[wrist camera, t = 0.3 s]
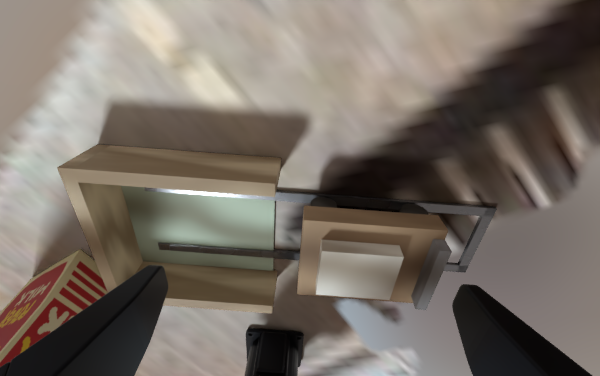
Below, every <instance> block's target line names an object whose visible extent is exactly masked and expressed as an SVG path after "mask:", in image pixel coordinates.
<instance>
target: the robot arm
mask: <svg viewBox="0 0 600 376" xmlns="http://www.w3.org/2000/svg"><path fill="white" fill-rule="evenodd" d="M167 292H168V281H167V277H166V273H165V269H164V267H163V266H161V265H148V266H146V267H145V268H143V269H142V270H140V271H139V272H137V273H136V274H134V275H133V276H132V277H130V278H129V279H127V280H126V281H124V282H123V283H121V284H120V285H119V286H117V287H116V288H114V289H113V290H111V291H110V292H108V293H107V294H105V295H104V296H103V297H101V298H100V299H98V300H97V301H95V302H94V303H92V304H91V305H90V306H88V307H87V308H85V309H84V310H82V311H81V312H79V313H78V314H77V315H75V316H74V317H72V318H71V319H69V320H68V321H66V322H65V323H64V324H62V325H61V326H59V327H58V328H56V329H55V330H53V331H52V332H51V333H49V334H48V335H46V336H45V337H43V338H42V339H40V340H39V341H38V342H36V343H35V344H33V345H32V346H30V347H29V348H27V349H26V350H25V351H23V352H22V353H20V354H19V355H17V356H16V357H14V358H13V359H12V360H11V362H7V363H6V364H4V365H3V366H1V367H0V376H134V375H135V373H136V371H137V369H138V366H139V364H140V362H141V360H142V358H143V356H144V354H145V352H146V349H147V347H148V345H149V343H150V340H151V337H152V335H153V332H154V329H155V326H156V323H157V321H158V318H159V315H160V312H161V309H162V306H163V304H164V301H165V298H166V295H167ZM452 306H453V312H454V316H455V319H456V323H457V326H458V330H459V333H460V337H461V340H462V344H463V347H464V350H465V354H466V357H467V361H468V364H469V366H470V369H471V372H472V374H473V376H592V375H591V374H590V373H588V372H587V371H586V370H584V369H583V368H582V367H581V366H579V365H578V364H577V363H575V362H574V361H573V360H572V359H570V358H569V357H568V356H567V355H565V354H564V353H563V352H562V351H560V350H559V349H558V348H556V347H555V346H554V345H553V344H551V343H550V342H549V341H547V340H546V339H545V338H544V337H542V336H541V335H540V334H539V333H537V332H536V331H535V330H534V329H532V328H531V327H530V326H528V325H527V324H526V323H525V322H523V321H522V320H521V319H519V318H518V317H517V316H515V315H514V314H513V313H512V312H510V311H509V310H508V309H507V308H505V307H504V306H503V305H501V304H500V303H499V302H498V301H496V300H495V299H494V298H493V297H491V296H490V295H489V294H488V293H486V292H485V291H484V290H482V289H481V288H480V287H478V286H477V285H467V284H463V285H461V286H460V288H459V290H458V292H457V294H456V297H455V299H454V301H453V305H452ZM246 346H247V366H246V371H245V376H297V373H298V367H299V366H300V363H301V355H302V346H303V333H300V332H289V331H275V330H262V329H247V331H246Z"/></svg>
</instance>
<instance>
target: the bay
mask: <svg viewBox="0 0 600 376" xmlns="http://www.w3.org/2000/svg"><path fill="white" fill-rule="evenodd" d="M57 169H58V171H59V173H60V176H61V178H62V181H63V183H64V186H65V188H66V191H67V193H68V196H69V198H70V201H71V203H72V205H73V208H74V210H75V213H76V215H77V218H78V220H79V223H80V225H81V228H82V230H83V232H84V235H85V237H86V240H87V242H88V245H89V247H90V250H91V252H92V255H93V257H94V260H95V262H96V264H97V267H98V269H99V272H100V274H101V277H102V279H103V282H104V284H105V287H106V289H107V291H108V292H110V291H111V290H113V289H114V288H116V287H117V286H119V285H120V284H121V283H123V282H124V281H126V280H127V279H129V278H130V277H132V276H133V275H134V274H136V273H137V272H139V271H140V270H142V269H143V268H145V267H146V266H148V265H161V266H163V267H164V269H165V273H166V277H167V281H168V292H167V295H166V298H165V301H164V304H163V305H164V306H177V307H191V308H204V309H218V310H231V311H245V312H258V313H272V311H273V304H274V297H275V289H276V282H277V271H275V270H273V258H264V257H250V256H237V255H223V254H210V253H196V252H183V251H170V250H159V246H158V242H163V243H176V244H190V245H203V246H217V247H230V248H244V249H257V250H271V251H274V216H275V201H274V200H261V199H247V198H234V197H220V196H207V195H193V194H180V193H167V192H153V191H145V188H144V187H146V188H160V189H173V190H187V191H200V192H214V193H227V194H241V195H254V196H267V197H275V194H276V190H277V185H278V180H279V176H280V171H281V158H274V157H261V156H247V155H234V154H220V153H207V152H194V151H180V150H167V149H153V148H140V147H126V146H113V145H100V144H97V145H96V146H94V147H92V148H90V149H89V150H87V151H85V152H83V153H82V154H80V155H78V156H76V157H75V158H73V159H71V160H70V161H68V162H66V163H64V164H63V165H61V166H59V167H57Z"/></svg>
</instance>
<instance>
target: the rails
mask: <svg viewBox="0 0 600 376" xmlns="http://www.w3.org/2000/svg"><path fill="white" fill-rule="evenodd" d="M144 188H145V191H153V192H167V193H180V194H193V195H207V196H220V197H234V198H247V199H261V200H274V201H288V202H301V203H311V201H312V200H313V199H314V198H317V197H326V198H330V199H332V200H333V201H335V203H336V205H341V206H355V207H368V208H382V209H395V210H401V207H402V205H404V204H416V205H419V206H421V207H423V208H424V209H426V210H427V212H435V213H449V214H462V215H476V216H480V218H479V220H478V222H477V224H476V226H475V228H474V230H473V232H472V235H471V237H470V239H469V241H468V243H467V245H466V247H465V249H464V252H463V254H462V256H461V258H460V260H459V262H458V263H448V262H447V264H446V266H445V268H444V270H443V271H453V272H466V270H467V268H468V265H469V264H470V262H471V259H472V257H473V255H474V254H475V251H476V250H477V248H478V245H479V243H480V242H481V240H482V237H483V236H484V234H485V232H486V230H487V228H488V226H489V224H490V222H491V220H492V218H493V216H494V214H495V212H496V210H497V208H496V207H493V206H480V205H466V204H453V203H439V202H426V201H412V200H399V199H386V198H372V197H359V196H345V195H332V194H318V193H305V192H292V191H278V190H276V194H275V197H267V196H254V195H241V194H227V193H214V192H200V191H187V190H173V189H160V188H146V187H144ZM158 246H159V250H170V251H183V252H196V253H210V254H223V255H237V256H250V257H264V258H277V259H291V260H299V259H300V251H287V250H274V251H271V250H257V249H244V248H230V247H217V246H203V245H190V244H176V243H163V242H158Z"/></svg>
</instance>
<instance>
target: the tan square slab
mask: <svg viewBox="0 0 600 376" xmlns="http://www.w3.org/2000/svg"><path fill="white" fill-rule="evenodd" d="M336 207H337V205H336V203H335V201H333V200H332V199H330V198H326V197H317V198H314V199H313V200H312V201H311V204H310V206H304V212H303V224H302V235H301V247H300V259H299V270H298V284H297V294H299V295H312V296H326V297H339V298H353V299H366V300H379V301H393V302H406V303H414V306H415V309H423V310H426V309H427V306H428V304H429V302H430V300H431V297H432V295H433V293H434V291H435V288H436V286H437V284H438V281H439V279H440V277H441V275H442V273H443V270H444V268H445V266H446V264H447V261H448V259H449V257H450V255H451V252H452V251H451V250H450V248H449V246H448V245H447V243H446V241H445V238H446V235H447V233H448V230H447V228H446V226H445V225H444V223H443V222H442V220H441V219H440V217H439V216H438V215H428V212H427V210H426V209H424V208H423V207H421V206H419V205H416V204H404V205H402V207H401V210H400V213H398V212H385V211H371V210H358V209H344V208H336Z"/></svg>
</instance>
